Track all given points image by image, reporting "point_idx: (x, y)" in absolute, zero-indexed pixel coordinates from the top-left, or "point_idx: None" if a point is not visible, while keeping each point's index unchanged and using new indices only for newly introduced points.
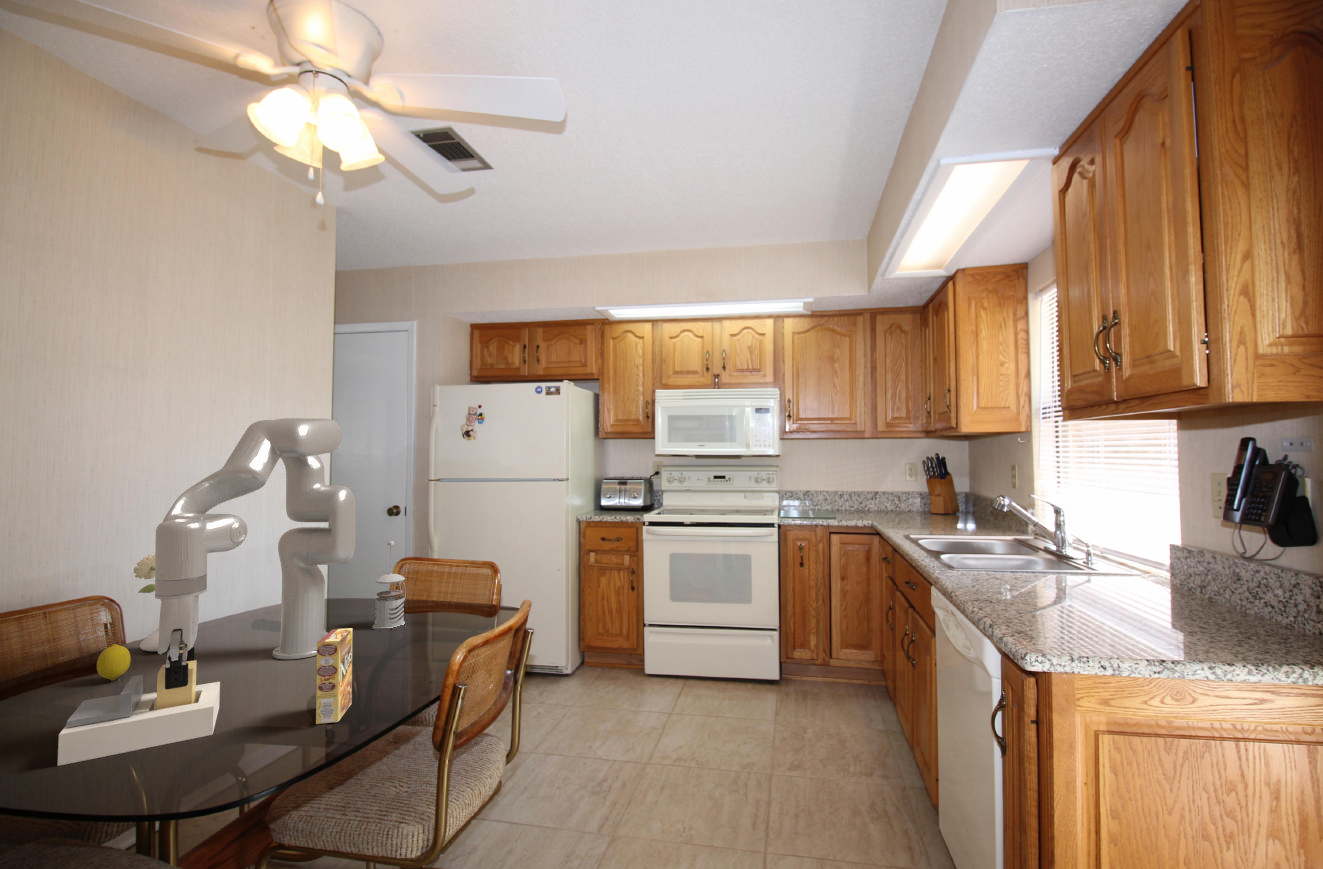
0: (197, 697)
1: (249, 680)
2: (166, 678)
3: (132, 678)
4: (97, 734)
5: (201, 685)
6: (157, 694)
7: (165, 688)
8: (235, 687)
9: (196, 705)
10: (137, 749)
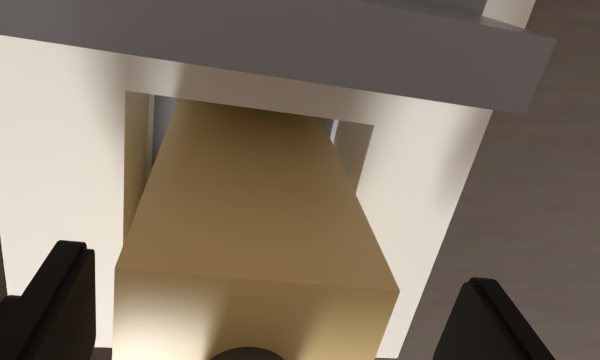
0: None
1: (568, 351)
2: (24, 302)
3: (479, 40)
4: None
5: (401, 302)
6: (154, 170)
7: (58, 242)
8: (537, 319)
9: None
10: None
